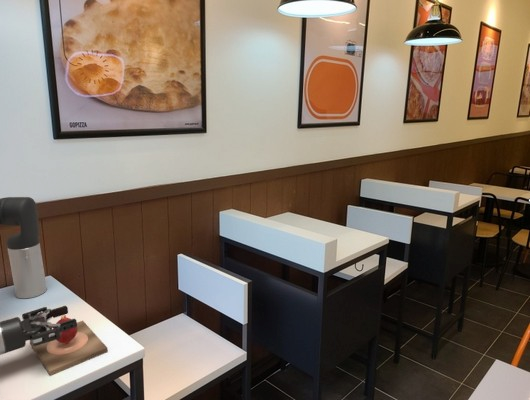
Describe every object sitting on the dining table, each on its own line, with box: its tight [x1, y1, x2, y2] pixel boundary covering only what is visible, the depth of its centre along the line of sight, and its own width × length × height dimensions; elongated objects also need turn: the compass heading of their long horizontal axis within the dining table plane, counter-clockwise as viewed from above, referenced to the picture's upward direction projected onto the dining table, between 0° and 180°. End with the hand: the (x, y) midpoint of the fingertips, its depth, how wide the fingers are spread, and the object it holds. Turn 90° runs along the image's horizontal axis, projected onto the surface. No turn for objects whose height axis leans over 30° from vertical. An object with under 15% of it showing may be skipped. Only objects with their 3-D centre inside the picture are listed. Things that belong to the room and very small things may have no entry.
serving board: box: [29, 320, 109, 377], centre depth 110 cm, size 18×14×1 cm
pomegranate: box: [52, 314, 78, 343], centre depth 108 cm, size 6×6×8 cm
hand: (71, 315), depth 109 cm, fingers open, 8 cm apart
